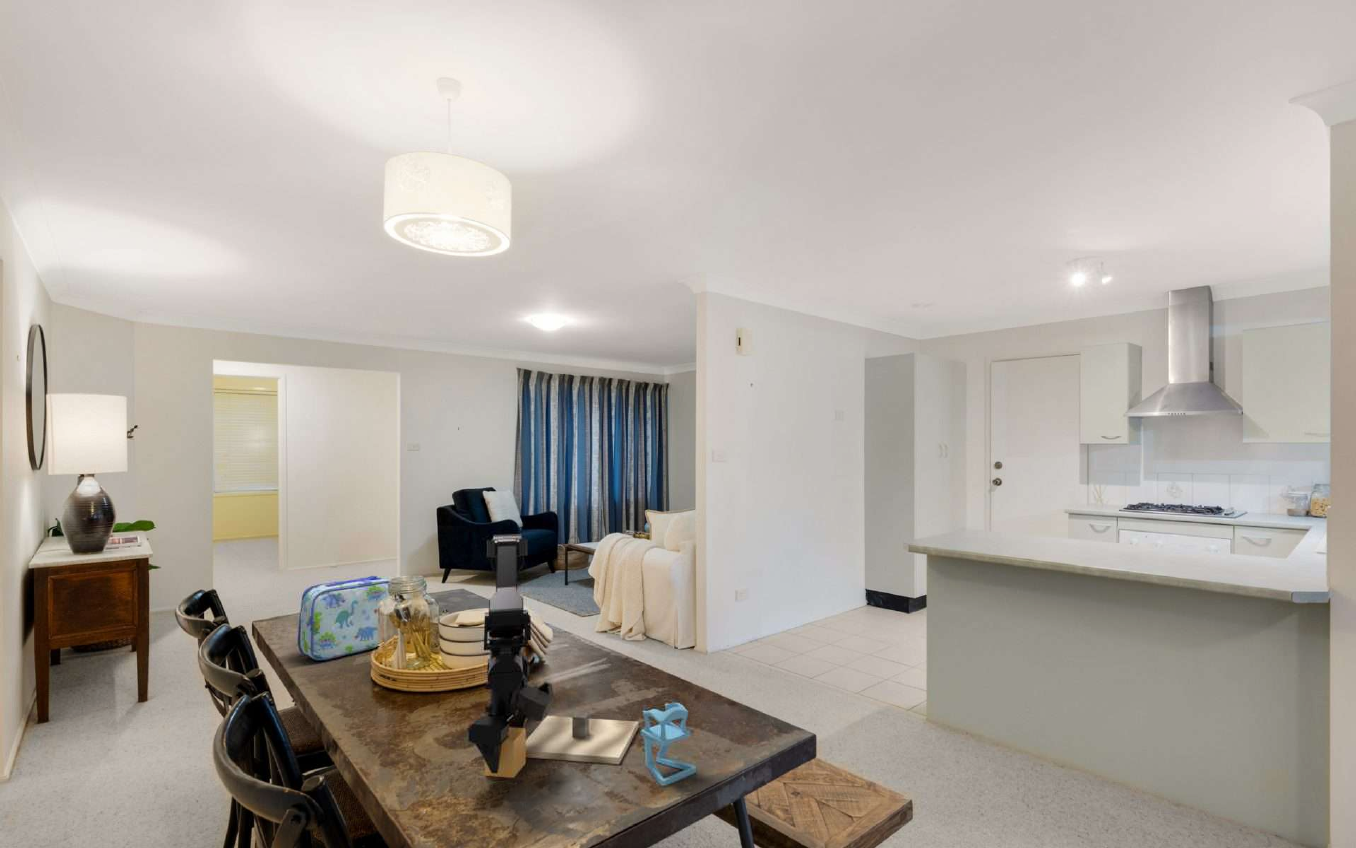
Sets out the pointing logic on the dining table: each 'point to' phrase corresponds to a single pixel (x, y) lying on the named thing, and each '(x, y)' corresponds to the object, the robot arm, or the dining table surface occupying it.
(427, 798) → the dining table surface
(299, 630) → the lunch box
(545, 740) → the board
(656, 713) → the chair
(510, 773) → the block
